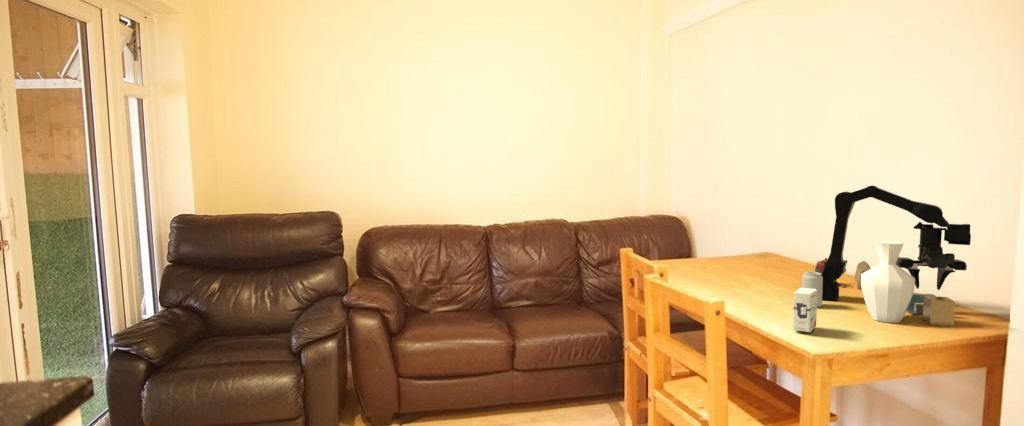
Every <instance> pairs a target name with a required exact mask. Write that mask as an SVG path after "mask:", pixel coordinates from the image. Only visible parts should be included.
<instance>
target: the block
mask: <svg viewBox="0 0 1024 426" xmlns="http://www.w3.org/2000/svg"><path fill="white" fill-rule="evenodd" d="M955 308H956V301H955V300H953V299H951V298H950V297H947V296H938V295H937V296H936V295H935V296H924V306H923V316H922V321H923V322H925V324H927V325H929V326H936V327H946V328H947V327H950V328H954V325H955Z"/></svg>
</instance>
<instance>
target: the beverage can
mask: <svg viewBox="0 0 1024 426" xmlns="http://www.w3.org/2000/svg"><path fill="white" fill-rule="evenodd" d="M801 288H809V289H817V309H819V308H820V307H822V306H823V300H822V288H823V277H822V274H821V273H818V272H815V271H804V272H803V274H802V277H801Z"/></svg>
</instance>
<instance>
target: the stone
mask: <svg viewBox="0 0 1024 426" xmlns="http://www.w3.org/2000/svg"><path fill="white" fill-rule="evenodd" d="M869 269H871V266H870V264H869V263H868V262H866V261H865V260H864V261H861V262H859V263H858V264H857V266H856V269H855V274H854V281H855V282H856V283H857V290H859V291H862V288H861V274H862V273H864V272H866V271H868V270H869Z"/></svg>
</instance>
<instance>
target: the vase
mask: <svg viewBox="0 0 1024 426" xmlns="http://www.w3.org/2000/svg"><path fill="white" fill-rule="evenodd" d="M874 245H875V248H876V252H877V255H878V260H879V263H878V264H877V265H874V266H873V267H870V269H869V270H868V271H866V272H864V273H862V274H861V288H862V290H861V292H862V296H863V298H864V302H865V307H866V310H867V311H868V313H869V315H870V316H871V318H872V320H874V321H876V322H881V323H886V324H899V323H901V322H902V320H903V319H904V318H905V315H906V313H907V311H906V310H907V308H908V305H909V303H910V301H911V298H912V296H913V293H914V291H915V288H916V286H915V278H914V277H913V276H911V274H910V273H908V272H907V271H905V269H904V268H900V267H899V266H897V265H896V262H897V259H898V257H900V253H901V251H902V248H903V246H904V242H902V241H894V240H893V241H892V240H875V241H874Z"/></svg>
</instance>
